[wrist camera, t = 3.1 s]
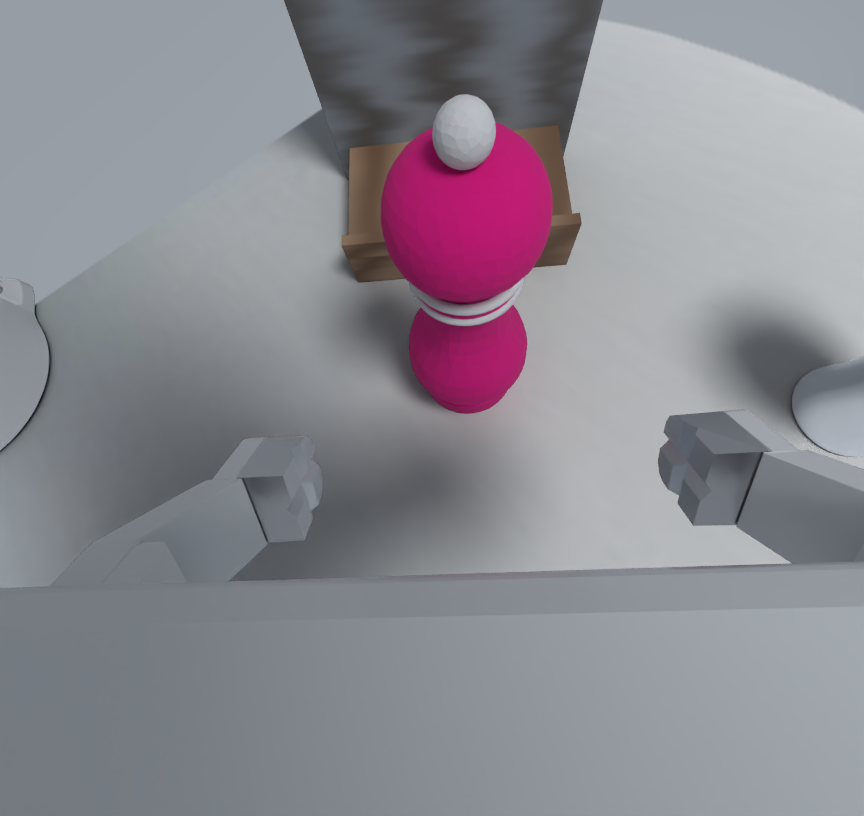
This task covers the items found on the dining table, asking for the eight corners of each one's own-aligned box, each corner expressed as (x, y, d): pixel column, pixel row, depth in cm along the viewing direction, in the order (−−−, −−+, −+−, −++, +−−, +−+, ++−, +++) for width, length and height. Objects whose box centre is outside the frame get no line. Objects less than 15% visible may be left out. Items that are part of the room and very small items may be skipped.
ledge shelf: (346, 283, 33) (-212, -800, 6) (348, 168, 36) (-17, -895, 9) (579, 263, 32) (1214, -1243, 5) (561, 145, 35) (880, -1177, 8)
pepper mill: (498, 313, 31) (545, -27, 12) (533, 402, 29) (657, 165, 10) (406, 343, 31) (302, 51, 12) (434, 434, 29) (364, 259, 10)
